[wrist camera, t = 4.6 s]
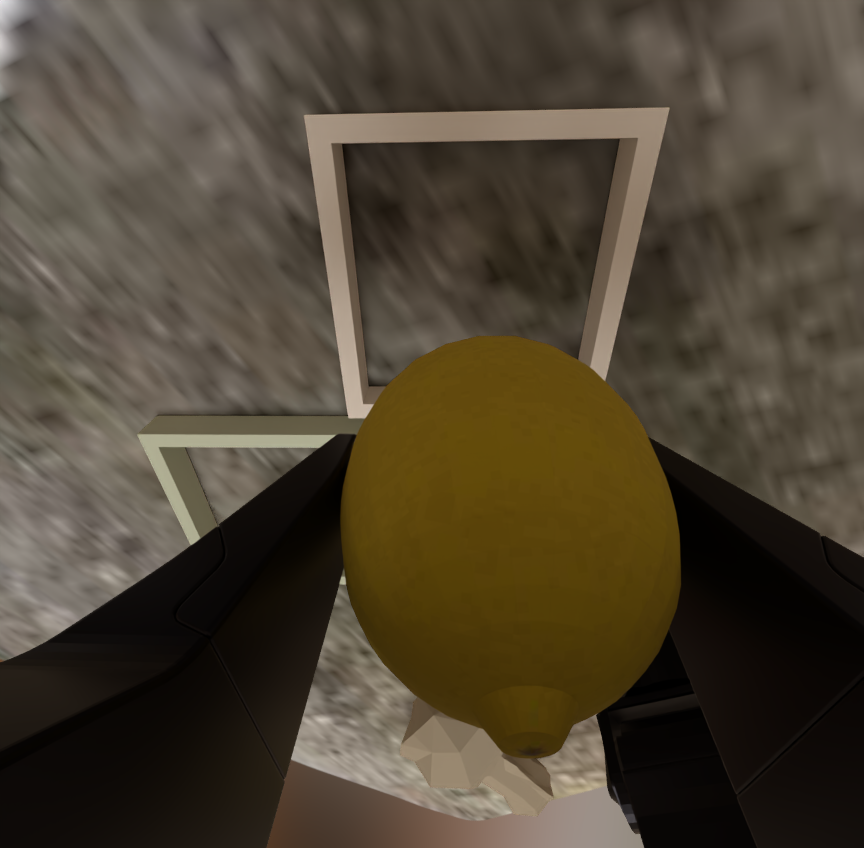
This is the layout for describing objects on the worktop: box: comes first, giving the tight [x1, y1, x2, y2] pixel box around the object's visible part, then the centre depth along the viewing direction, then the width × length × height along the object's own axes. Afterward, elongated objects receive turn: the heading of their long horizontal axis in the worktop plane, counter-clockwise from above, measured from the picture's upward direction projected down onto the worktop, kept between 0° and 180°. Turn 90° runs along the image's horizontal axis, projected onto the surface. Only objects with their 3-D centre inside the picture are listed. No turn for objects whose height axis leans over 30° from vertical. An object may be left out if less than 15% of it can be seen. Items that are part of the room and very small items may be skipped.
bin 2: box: [304, 107, 670, 418], centre depth 18 cm, size 12×12×2 cm
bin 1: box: [137, 416, 365, 584], centre depth 25 cm, size 12×12×2 cm
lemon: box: [340, 336, 681, 759], centre depth 8 cm, size 6×6×8 cm
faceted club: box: [400, 697, 554, 816], centre depth 39 cm, size 9×8×25 cm
